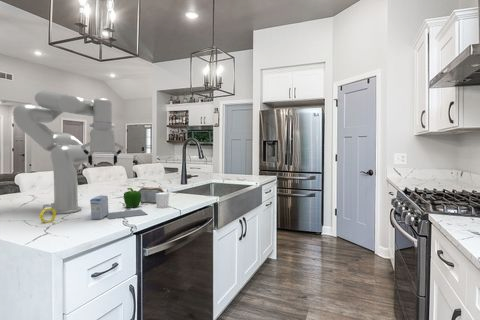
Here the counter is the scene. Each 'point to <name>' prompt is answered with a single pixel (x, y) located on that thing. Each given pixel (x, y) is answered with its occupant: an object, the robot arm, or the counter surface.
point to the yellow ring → (43, 213)
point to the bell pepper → (132, 198)
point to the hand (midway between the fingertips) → (103, 164)
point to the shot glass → (162, 199)
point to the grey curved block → (149, 194)
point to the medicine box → (99, 207)
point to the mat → (125, 214)
